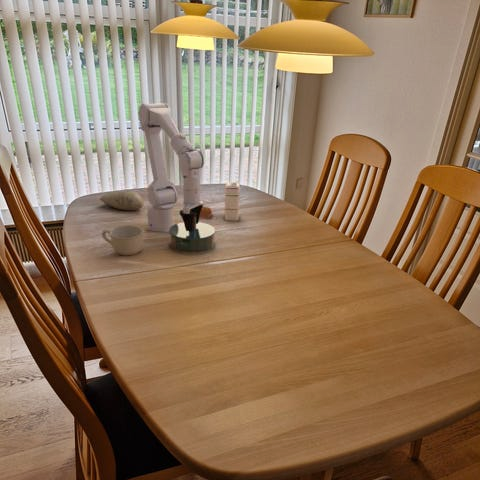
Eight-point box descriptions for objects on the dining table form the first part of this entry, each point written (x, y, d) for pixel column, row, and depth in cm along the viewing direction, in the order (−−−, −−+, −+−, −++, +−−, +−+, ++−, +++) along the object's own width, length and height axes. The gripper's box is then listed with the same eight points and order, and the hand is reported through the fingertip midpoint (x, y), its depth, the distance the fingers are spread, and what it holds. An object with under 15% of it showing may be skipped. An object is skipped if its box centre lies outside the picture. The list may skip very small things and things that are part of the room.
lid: (163, 238, 151) (162, 221, 148) (177, 222, 164) (176, 206, 161) (209, 243, 149) (209, 226, 146) (219, 227, 162) (219, 211, 159)
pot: (163, 254, 152) (162, 239, 149) (180, 233, 169) (180, 219, 166) (205, 259, 150) (205, 244, 147) (219, 237, 167) (219, 223, 164)
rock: (132, 214, 181) (98, 207, 190) (151, 209, 190) (117, 202, 199) (131, 196, 178) (96, 189, 187) (150, 192, 186) (116, 185, 195)
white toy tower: (238, 221, 182) (240, 186, 175) (224, 220, 182) (225, 185, 175) (238, 216, 187) (240, 182, 180) (224, 216, 187) (225, 181, 179)
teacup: (149, 249, 155) (148, 227, 150) (133, 261, 146) (131, 238, 142) (115, 242, 158) (112, 221, 154) (97, 254, 149) (94, 231, 145)
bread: (190, 217, 184) (190, 207, 182) (193, 213, 188) (193, 203, 186) (209, 219, 183) (209, 209, 181) (212, 215, 187) (212, 205, 185)
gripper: (197, 195, 142) (197, 235, 149) (208, 184, 154) (208, 221, 161) (176, 193, 143) (177, 233, 150) (189, 182, 155) (189, 219, 162)
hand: (192, 227), depth 156 cm, fingers open, 7 cm apart
